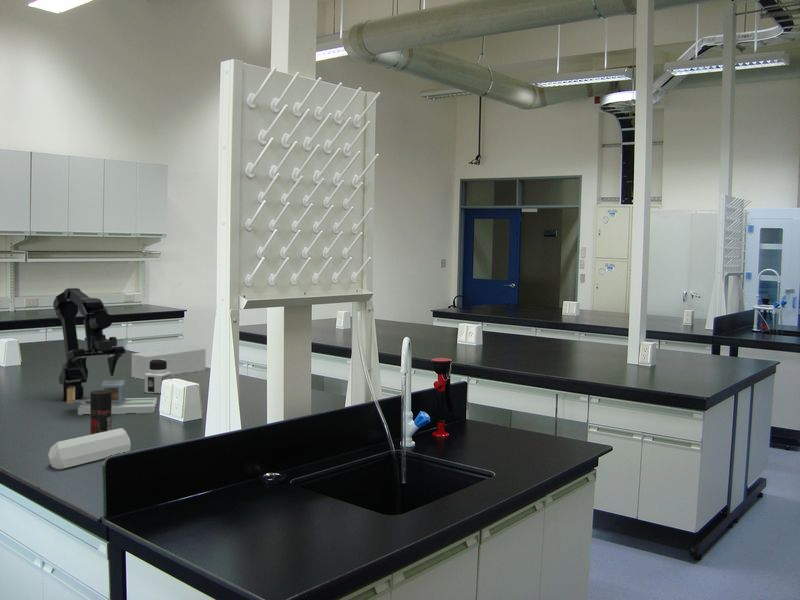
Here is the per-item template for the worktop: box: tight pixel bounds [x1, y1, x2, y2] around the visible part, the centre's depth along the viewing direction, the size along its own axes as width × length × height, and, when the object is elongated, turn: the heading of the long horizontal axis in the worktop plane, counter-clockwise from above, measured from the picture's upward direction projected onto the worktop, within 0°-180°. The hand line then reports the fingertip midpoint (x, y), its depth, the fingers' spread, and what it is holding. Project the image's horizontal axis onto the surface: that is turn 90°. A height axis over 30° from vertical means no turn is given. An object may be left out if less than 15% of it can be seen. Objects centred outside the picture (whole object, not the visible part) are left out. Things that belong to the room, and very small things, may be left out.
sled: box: [66, 386, 127, 404], centre depth 259 cm, size 19×5×5 cm, turn 105°
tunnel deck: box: [77, 379, 158, 416], centre depth 261 cm, size 25×14×10 cm, turn 105°
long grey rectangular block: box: [131, 346, 207, 380], centre depth 328 cm, size 32×11×11 cm, turn 145°
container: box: [144, 359, 172, 395], centre depth 291 cm, size 8×8×13 cm
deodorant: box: [89, 389, 112, 435], centre depth 222 cm, size 6×6×15 cm
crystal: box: [47, 427, 131, 470], centre depth 204 cm, size 7×7×24 cm
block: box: [105, 388, 119, 401], centre depth 260 cm, size 4×4×4 cm
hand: (99, 377), depth 255 cm, fingers open, 9 cm apart
